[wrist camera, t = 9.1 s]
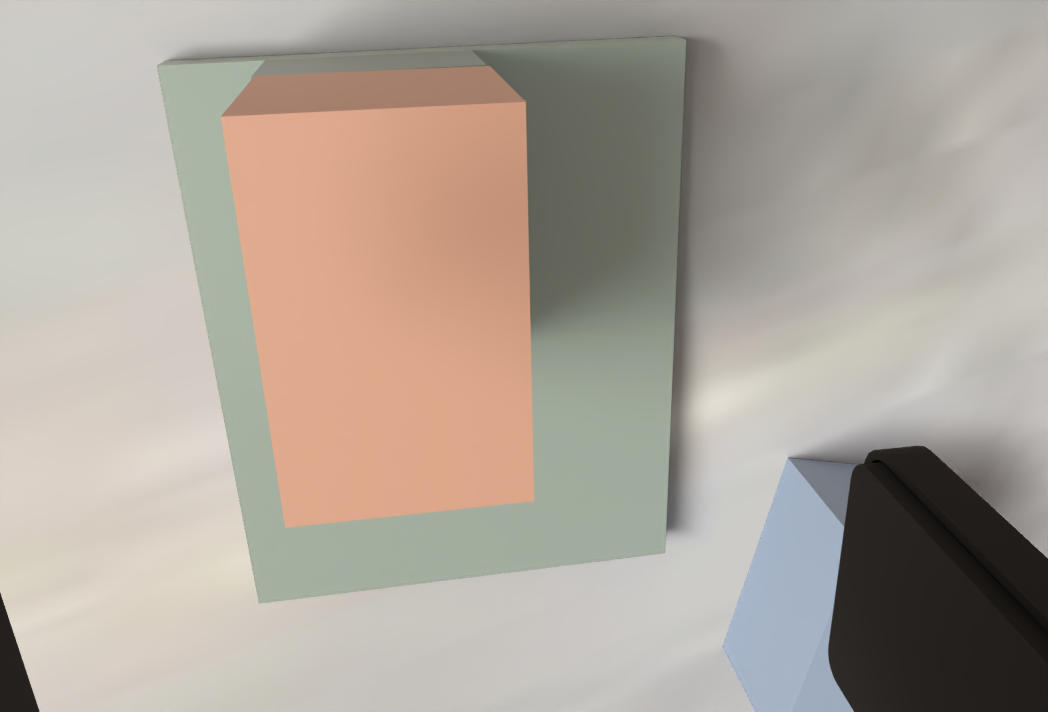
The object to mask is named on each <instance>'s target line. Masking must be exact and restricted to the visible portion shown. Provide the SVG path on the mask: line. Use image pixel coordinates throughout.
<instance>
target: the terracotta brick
mask: <svg viewBox="0 0 1048 712" xmlns="http://www.w3.org/2000/svg"><path fill="white" fill-rule="evenodd" d="M221 122H222V128H223V135H224V141H225V148H226V154H227V160H228V167H229V173H230V179H231V186H232V192H233V199H234V205H235V211H236V218H237V224H238V230H239V237H240V243H241V249H242V256H243V262H244V269H245V275H246V281H247V288H248V294H249V300H250V307H251V313H252V319H253V326H254V332H255V339H256V345H257V351H258V358H259V364H260V370H261V377H262V383H263V389H264V396H265V402H266V409H267V415H268V421H269V428H270V434H271V440H272V447H273V453H274V460H275V466H276V472H277V479H278V485H279V491H280V498H281V504H282V510H283V517H284V523H285V528H288V527H298V526H307V525H316V524H326V523H335V522H345V521H354V520H363V519H373V518H382V517H391V516H401V515H410V514H419V513H429V512H438V511H447V510H457V509H466V508H475V507H485V506H494V505H503V504H513V503H522V502H531V501H534V468H533V421H532V373H531V325H530V278H529V230H528V182H527V135H526V102H525V101H524V100H523V99H522V98H521V97H520V96H519V95H518V94H517V93H516V92H515V91H514V90H513V89H512V88H511V87H510V86H509V85H508V84H507V83H506V82H505V81H504V80H503V79H502V78H501V77H500V76H499V75H498V74H497V73H496V72H495V71H494V70H493V69H492V67H491V66H473V67H450V68H427V69H404V70H380V71H357V72H334V73H311V74H287V75H264V76H254V77H253V78H252V80H251V81H250V82H249V83H248V84H247V86H246V87H245V88H244V89H243V90H242V92H241V93H240V94H239V95H238V96H237V98H236V99H235V100H234V101H233V102H232V104H231V105H230V106H229V107H228V108H227V110H226V111H225V112H224V113H223V114H222V116H221Z"/></svg>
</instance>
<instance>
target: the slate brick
mask: <svg viewBox="0 0 1048 712" xmlns="http://www.w3.org/2000/svg"><path fill="white" fill-rule="evenodd" d="M855 466H857V464H847V463H837V462H827V461H816V460H806V459H796V458H787V461H786V464H785V467H784V470H783V473H782V476H781V479H780V482H779V484H778V487H777V490H776V493H775V496H774V499H773V502H772V505H771V508H770V511H769V513H768V516H767V519H766V522H765V525H764V528H763V531H762V534H761V537H760V539H759V542H758V545H757V548H756V551H755V554H754V557H753V560H752V563H751V565H750V568H749V571H748V574H747V577H746V580H745V583H744V586H743V589H742V592H741V594H740V597H739V600H738V603H737V606H736V609H735V612H734V615H733V618H732V620H731V623H730V626H729V629H728V632H727V635H726V638H725V641H724V644H723V646H722V647H723V649H724V651H725V653H726V654H727V656H728V658H729V660H730V662H731V664H732V666H733V668H734V670H735V672H736V674H737V676H738V678H739V680H740V682H741V684H742V686H743V688H744V690H745V692H746V694H747V696H748V698H749V700H750V702H751V704H752V706H753V708H754V710H755V712H854V711H853V709H852V708H851V706H850V704H849V703H848V701H847V700H846V698H845V696H844V695H843V693H842V691H841V690H840V688H839V687H838V685H837V683H836V681H835V679H834V677H833V674H832V672H831V668H830V664H829V658H828V645H829V637H830V630H831V622H832V615H833V607H834V600H835V592H836V585H837V577H838V570H839V562H840V555H841V547H842V540H843V532H844V525H845V518H846V510H847V503H848V495H849V488H850V480H851V475H852V471H853V469H854V468H855Z"/></svg>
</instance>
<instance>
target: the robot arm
mask: <svg viewBox="0 0 1048 712" xmlns="http://www.w3.org/2000/svg"><path fill="white" fill-rule="evenodd" d="M828 658H829V664H830V668H831V672H832V674H833V677H834V679H835V681H836V683H837V685H838V687H839V688H840V690H841V691H842V693H843V695H844V696H845V698H846V700H847V701H848V703H849V704H850V706H851V708H852V709H853V711H854V712H1048V558H1046V557H1045V556H1044V555H1043V554H1042V553H1041V552H1040V551H1039V550H1038V549H1037V548H1036V547H1035V546H1033V545H1032V544H1031V543H1030V542H1029V541H1028V540H1027V539H1026V538H1025V537H1024V536H1023V535H1022V534H1020V533H1019V532H1018V531H1017V530H1016V529H1015V528H1014V527H1013V526H1012V525H1011V524H1010V523H1009V522H1007V521H1006V520H1005V519H1004V518H1003V517H1002V516H1001V515H1000V514H999V513H998V512H997V511H996V510H994V509H993V508H992V507H991V506H990V505H989V504H988V503H987V502H986V501H985V500H984V499H983V498H981V497H980V496H979V495H978V494H977V493H976V492H975V491H974V490H973V489H972V488H971V487H970V486H968V485H967V484H966V483H965V482H964V481H963V480H962V479H961V478H960V477H959V476H958V475H957V474H955V473H954V472H953V471H952V470H951V469H950V468H949V467H948V466H947V465H946V464H945V463H944V462H942V461H941V460H940V459H939V458H938V457H937V456H936V455H935V454H934V453H933V452H932V451H931V450H929V449H927V448H926V447H924V446H911V447H901V448H891V449H881V450H874V451H872V452H870V453H869V454H868V456H867V457H866V459H865V463H864V464H859V465H857V466H855V468H854V469H853V471H852V475H851V480H850V488H849V495H848V503H847V510H846V518H845V525H844V532H843V540H842V547H841V555H840V562H839V570H838V577H837V585H836V592H835V600H834V607H833V615H832V622H831V630H830V637H829V645H828ZM0 712H39V709H38V706H37V703H36V700H35V697H34V694H33V691H32V688H31V685H30V682H29V678H28V675H27V672H26V669H25V666H24V663H23V660H22V657H21V654H20V651H19V648H18V645H17V642H16V639H15V636H14V633H13V630H12V627H11V624H10V621H9V618H8V615H7V612H6V609H5V606H4V603H3V600H2V597H1V594H0Z"/></svg>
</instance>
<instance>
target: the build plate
mask: <svg viewBox="0 0 1048 712" xmlns="http://www.w3.org/2000/svg"><path fill="white" fill-rule="evenodd" d="M685 58H686V39H683V38H680V37H676V36H662V37H641V38H621V39H601V40H580V41H560V42H539V43H519V44H498V45H478V46H457V47H437V48H417V49H396V50H376V51H355V52H335V53H314V54H294V55H273V56H253V57H233V58H212V59H192V60H171V61H164V62H162V63H161V64H159V65H157V69H158V74H159V79H160V85H161V90H162V95H163V101H164V106H165V111H166V116H167V122H168V127H169V132H170V137H171V143H172V148H173V153H174V158H175V164H176V169H177V174H178V180H179V185H180V190H181V195H182V201H183V206H184V211H185V216H186V222H187V227H188V232H189V237H190V243H191V248H192V253H193V259H194V264H195V269H196V274H197V280H198V285H199V290H200V295H201V301H202V306H203V311H204V316H205V322H206V327H207V332H208V338H209V343H210V348H211V353H212V359H213V364H214V369H215V374H216V380H217V385H218V390H219V395H220V401H221V406H222V411H223V417H224V422H225V427H226V432H227V438H228V443H229V448H230V453H231V459H232V464H233V469H234V474H235V480H236V485H237V490H238V496H239V501H240V506H241V511H242V517H243V522H244V527H245V532H246V538H247V543H248V548H249V553H250V559H251V564H252V569H253V575H254V580H255V585H256V590H257V596H258V601H259V603H267V602H275V601H283V600H291V599H299V598H307V597H315V596H323V595H331V594H340V593H348V592H356V591H364V590H372V589H380V588H388V587H396V586H404V585H412V584H420V583H428V582H436V581H444V580H452V579H461V578H469V577H477V576H485V575H493V574H501V573H509V572H517V571H525V570H533V569H541V568H549V567H557V566H565V565H573V564H582V563H590V562H598V561H606V560H614V559H622V558H630V557H638V556H646V555H654V554H662V553H665V546H666V522H667V497H668V473H669V449H670V424H671V400H672V375H673V351H674V327H675V302H676V278H677V253H678V229H679V205H680V180H681V156H682V131H683V107H684V83H685ZM473 66H491V67H492V69H493V70H494V71H495V72H496V73H497V74H498V75H499V76H500V77H501V78H502V79H503V80H504V81H505V82H506V83H507V84H508V85H509V86H510V87H511V88H512V89H513V90H514V91H515V92H516V93H517V94H518V95H519V96H520V97H521V98H522V99H523V100H524V101H525V102H526V135H527V182H528V230H529V278H530V325H531V373H532V421H533V468H534V501H531V502H522V503H513V504H503V505H494V506H485V507H475V508H466V509H457V510H447V511H438V512H429V513H419V514H410V515H401V516H391V517H382V518H373V519H363V520H354V521H345V522H335V523H326V524H316V525H307V526H298V527H288V528H285V523H284V517H283V510H282V504H281V498H280V491H279V485H278V479H277V472H276V466H275V460H274V453H273V447H272V440H271V434H270V428H269V421H268V415H267V409H266V402H265V396H264V389H263V383H262V377H261V370H260V364H259V358H258V351H257V345H256V339H255V332H254V326H253V319H252V313H251V307H250V300H249V294H248V288H247V281H246V275H245V269H244V262H243V256H242V249H241V243H240V237H239V230H238V224H237V218H236V211H235V205H234V199H233V192H232V186H231V179H230V173H229V167H228V160H227V154H226V148H225V141H224V135H223V128H222V122H221V116H222V114H223V113H224V112H225V111H226V110H227V108H228V107H229V106H230V105H231V104H232V102H233V101H234V100H235V99H236V98H237V96H238V95H239V94H240V93H241V92H242V90H243V89H244V88H245V87H246V86H247V84H248V83H249V82H250V81H251V80H252V78H253V77H254V76H264V75H287V74H311V73H334V72H357V71H380V70H404V69H427V68H450V67H473Z"/></svg>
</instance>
